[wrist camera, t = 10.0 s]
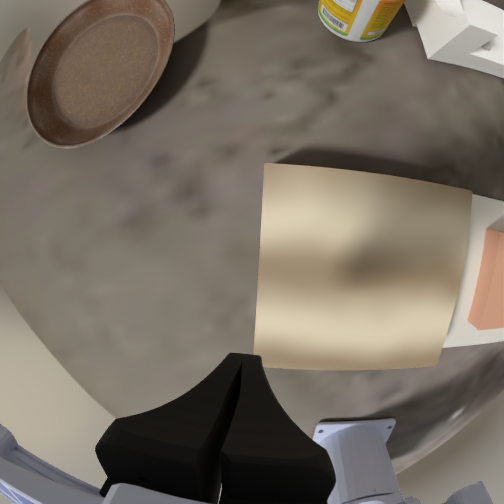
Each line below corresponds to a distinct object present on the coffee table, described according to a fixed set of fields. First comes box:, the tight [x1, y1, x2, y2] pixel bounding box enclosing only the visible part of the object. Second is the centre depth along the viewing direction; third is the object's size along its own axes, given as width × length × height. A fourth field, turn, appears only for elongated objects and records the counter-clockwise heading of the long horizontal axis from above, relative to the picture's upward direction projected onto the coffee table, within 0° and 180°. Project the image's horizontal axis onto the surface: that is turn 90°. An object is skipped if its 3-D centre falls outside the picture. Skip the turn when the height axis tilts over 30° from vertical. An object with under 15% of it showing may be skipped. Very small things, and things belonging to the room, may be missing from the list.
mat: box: [442, 194, 504, 348], centre depth 19 cm, size 13×12×1 cm
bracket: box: [404, 0, 504, 78], centre depth 11 cm, size 13×7×8 cm, turn 96°
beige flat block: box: [254, 163, 472, 370], centre depth 18 cm, size 13×14×3 cm
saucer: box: [26, 0, 175, 148], centre depth 17 cm, size 15×15×3 cm
